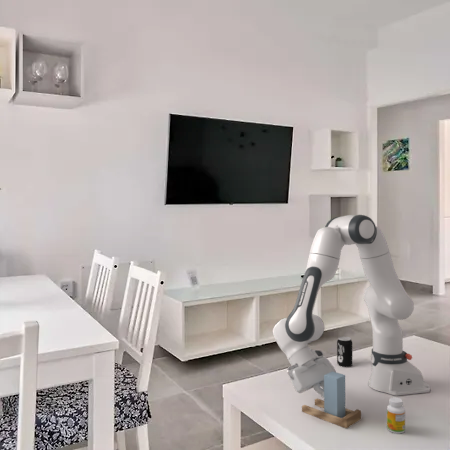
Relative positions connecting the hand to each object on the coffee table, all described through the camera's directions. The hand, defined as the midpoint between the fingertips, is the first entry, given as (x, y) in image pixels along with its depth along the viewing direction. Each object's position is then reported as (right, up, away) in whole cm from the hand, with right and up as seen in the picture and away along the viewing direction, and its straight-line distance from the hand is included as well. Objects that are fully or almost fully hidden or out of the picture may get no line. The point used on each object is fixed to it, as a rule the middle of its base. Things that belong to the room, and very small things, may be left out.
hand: (326, 395), depth 160 cm
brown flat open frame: (+1, -6, 0) cm, 6 cm away
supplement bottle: (+19, -7, -12) cm, 24 cm away
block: (+2, -6, -2) cm, 7 cm away
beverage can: (+18, -4, +48) cm, 52 cm away
